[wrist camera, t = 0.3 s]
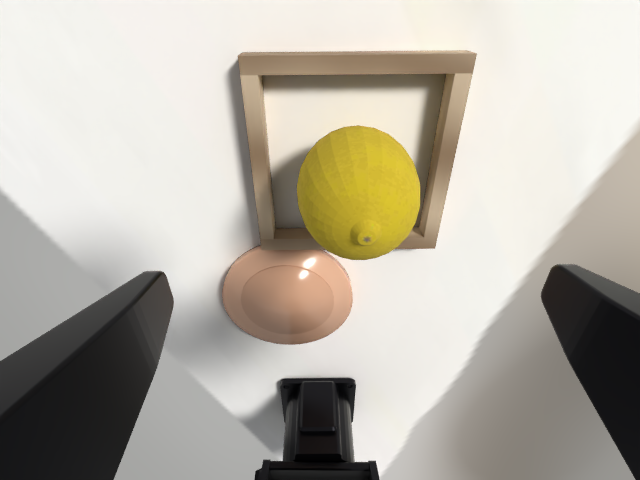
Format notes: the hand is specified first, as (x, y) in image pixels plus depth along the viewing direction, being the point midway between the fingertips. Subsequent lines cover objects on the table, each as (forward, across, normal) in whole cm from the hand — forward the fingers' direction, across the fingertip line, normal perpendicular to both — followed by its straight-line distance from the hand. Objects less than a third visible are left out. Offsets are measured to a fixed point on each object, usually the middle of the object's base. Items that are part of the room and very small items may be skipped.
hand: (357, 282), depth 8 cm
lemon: (+13, -1, +2) cm, 13 cm away
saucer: (+13, +3, +12) cm, 17 cm away
